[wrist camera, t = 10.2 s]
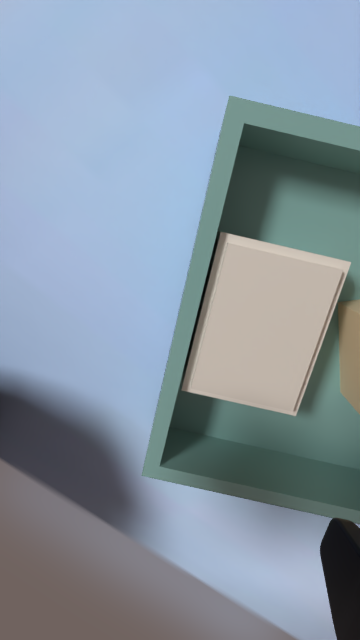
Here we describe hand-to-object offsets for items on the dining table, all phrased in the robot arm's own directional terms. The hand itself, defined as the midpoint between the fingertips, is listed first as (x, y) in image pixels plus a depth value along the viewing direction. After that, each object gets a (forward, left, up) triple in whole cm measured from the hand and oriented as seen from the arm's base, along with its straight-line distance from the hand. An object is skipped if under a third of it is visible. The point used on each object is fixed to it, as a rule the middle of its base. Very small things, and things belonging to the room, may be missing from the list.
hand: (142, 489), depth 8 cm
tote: (+8, +2, -13) cm, 15 cm away
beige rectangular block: (+4, +2, -12) cm, 13 cm away
